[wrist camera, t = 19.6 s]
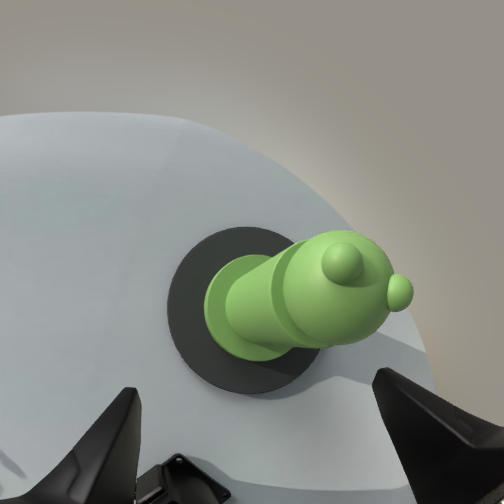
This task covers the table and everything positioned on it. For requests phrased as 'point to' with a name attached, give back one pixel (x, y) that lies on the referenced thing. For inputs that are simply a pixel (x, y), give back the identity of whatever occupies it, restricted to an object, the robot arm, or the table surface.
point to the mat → (194, 324)
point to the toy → (304, 296)
